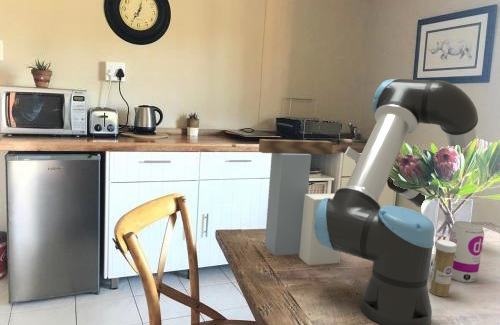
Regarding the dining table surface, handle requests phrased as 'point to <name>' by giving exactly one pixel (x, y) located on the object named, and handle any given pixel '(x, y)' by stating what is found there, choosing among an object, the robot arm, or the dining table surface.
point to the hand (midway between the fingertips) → (359, 154)
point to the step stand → (294, 211)
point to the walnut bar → (295, 146)
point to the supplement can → (466, 250)
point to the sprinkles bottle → (442, 267)
